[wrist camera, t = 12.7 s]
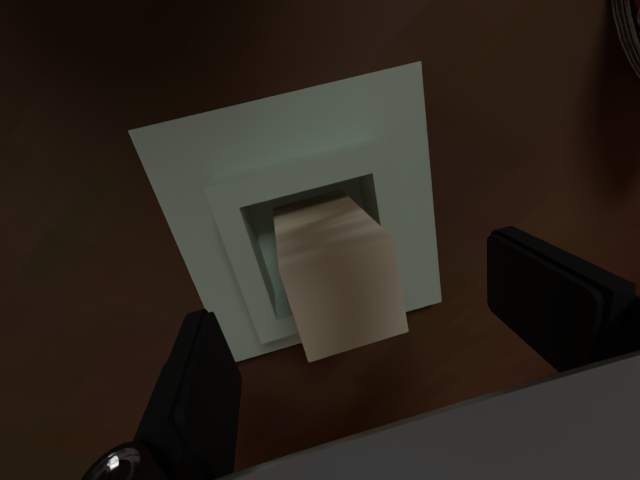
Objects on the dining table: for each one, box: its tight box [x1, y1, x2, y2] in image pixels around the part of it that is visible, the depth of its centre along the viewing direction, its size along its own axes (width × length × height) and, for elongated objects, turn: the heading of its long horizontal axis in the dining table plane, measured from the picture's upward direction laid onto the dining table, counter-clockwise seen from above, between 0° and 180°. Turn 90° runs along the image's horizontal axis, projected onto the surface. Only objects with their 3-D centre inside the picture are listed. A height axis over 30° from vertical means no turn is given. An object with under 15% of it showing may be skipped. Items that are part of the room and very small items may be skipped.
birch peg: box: [273, 189, 408, 362], centre depth 15 cm, size 4×4×8 cm
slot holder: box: [128, 61, 442, 362], centre depth 18 cm, size 15×15×4 cm
